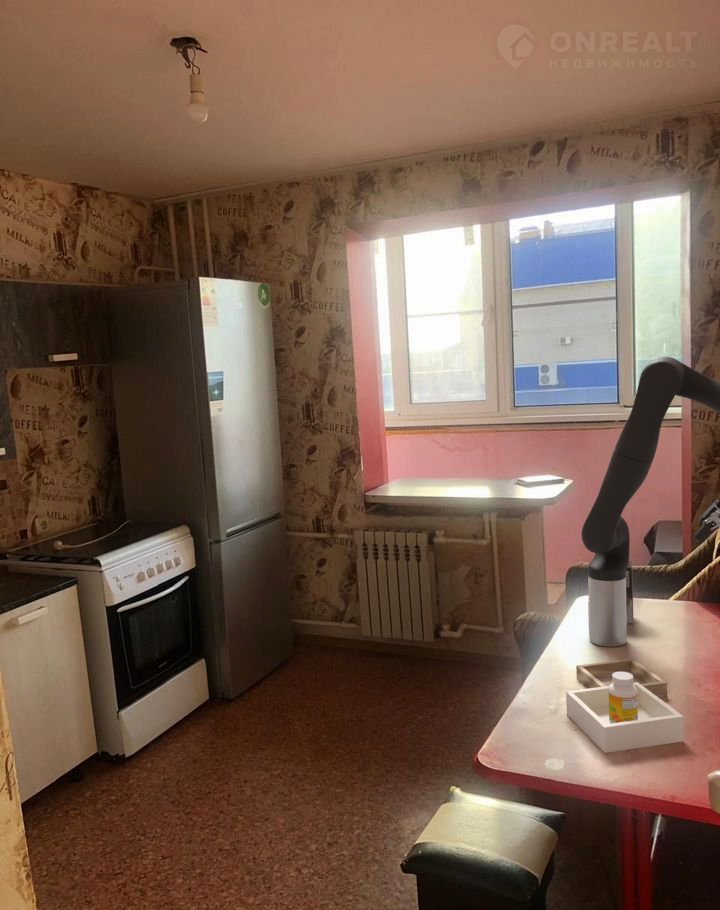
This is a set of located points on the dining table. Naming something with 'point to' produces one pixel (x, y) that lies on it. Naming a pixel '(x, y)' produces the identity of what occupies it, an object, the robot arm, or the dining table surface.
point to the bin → (649, 729)
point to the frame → (592, 671)
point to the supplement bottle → (622, 698)
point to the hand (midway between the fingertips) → (708, 544)
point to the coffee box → (629, 594)
